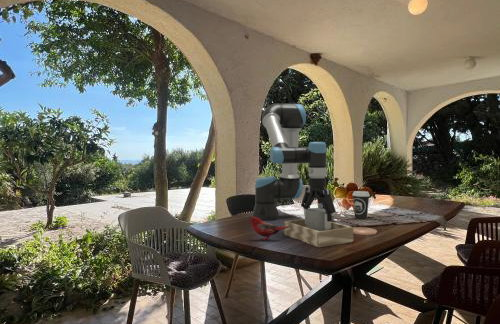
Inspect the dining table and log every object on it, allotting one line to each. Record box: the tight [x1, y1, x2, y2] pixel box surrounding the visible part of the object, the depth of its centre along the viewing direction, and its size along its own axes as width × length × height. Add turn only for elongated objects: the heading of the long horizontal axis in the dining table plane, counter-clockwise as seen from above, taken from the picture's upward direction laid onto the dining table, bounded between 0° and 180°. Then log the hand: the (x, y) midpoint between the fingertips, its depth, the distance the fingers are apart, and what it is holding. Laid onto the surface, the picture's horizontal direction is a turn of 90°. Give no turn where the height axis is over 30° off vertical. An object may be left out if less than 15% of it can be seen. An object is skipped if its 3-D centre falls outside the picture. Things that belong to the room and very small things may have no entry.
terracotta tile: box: [353, 226, 378, 236], centre depth 160 cm, size 12×12×1 cm
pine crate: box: [283, 218, 354, 248], centre depth 149 cm, size 24×18×6 cm
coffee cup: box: [351, 190, 371, 220], centre depth 194 cm, size 10×10×15 cm
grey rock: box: [328, 210, 339, 222], centre depth 186 cm, size 9×8×10 cm
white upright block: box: [306, 207, 328, 231], centre depth 149 cm, size 10×10×12 cm
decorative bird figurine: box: [248, 217, 290, 241], centre depth 145 cm, size 3×18×10 cm, turn 84°
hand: (317, 226), depth 149 cm, fingers open, 13 cm apart
